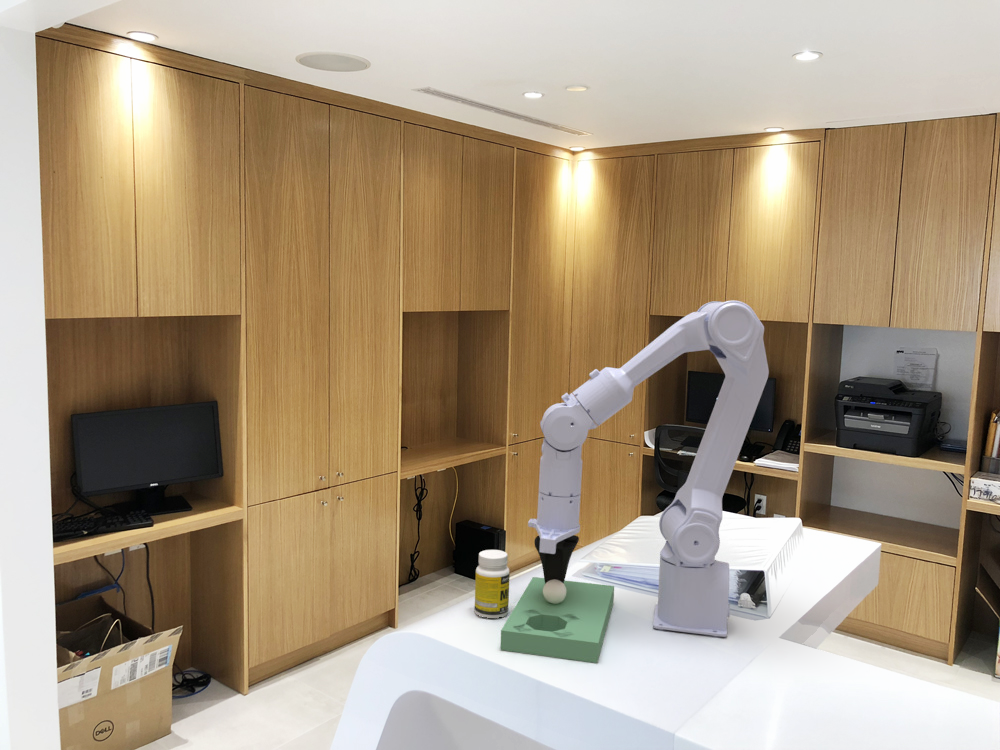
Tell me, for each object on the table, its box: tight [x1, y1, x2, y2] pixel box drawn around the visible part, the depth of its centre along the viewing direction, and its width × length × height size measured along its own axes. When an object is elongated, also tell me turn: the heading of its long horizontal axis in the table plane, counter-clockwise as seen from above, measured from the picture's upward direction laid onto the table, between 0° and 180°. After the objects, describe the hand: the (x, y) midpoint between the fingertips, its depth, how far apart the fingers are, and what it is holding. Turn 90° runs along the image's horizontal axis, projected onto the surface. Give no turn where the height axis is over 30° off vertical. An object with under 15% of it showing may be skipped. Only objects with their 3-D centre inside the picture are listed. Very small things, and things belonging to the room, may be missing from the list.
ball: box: [543, 579, 566, 604], centre depth 104 cm, size 3×3×3 cm
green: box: [500, 576, 615, 664], centre depth 103 cm, size 12×20×2 cm, turn 166°
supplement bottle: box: [474, 549, 511, 619], centre depth 106 cm, size 5×5×8 cm
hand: (553, 588), depth 105 cm, fingers closed, pressing on ball
